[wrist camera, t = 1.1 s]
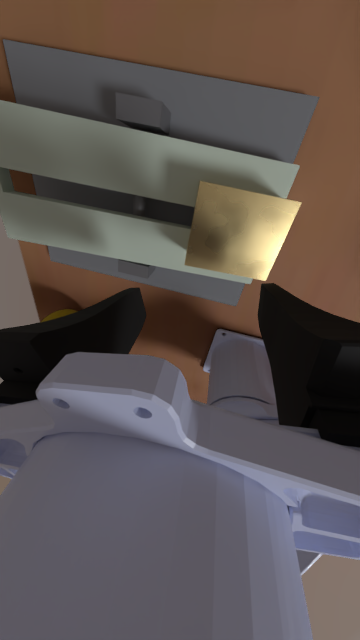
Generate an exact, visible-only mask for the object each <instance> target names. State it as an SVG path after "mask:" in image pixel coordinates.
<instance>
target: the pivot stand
mask: <svg viewBox="0 0 360 640" xmlns="http://www.w3.org/2000/svg"><path fill="white" fill-rule="evenodd" d="M3 43H4V48H5V52H6V57H7V62H8V66H9V71H10V75H11V80H12V85H13V89H14V94H15V98H16V103H17V104H21V105H25V106H30V107H34V108H39V109H44V110H48V111H53V112H57V113H62V114H66V115H71V116H76V117H80V118H85V119H89V120H94V121H98V122H103V123H107V124H112V125H117V126H121V127H126V128H130V129H135V130H139V131H144V132H149V133H153V134H158V135H162V136H167V137H171V138H176V139H180V140H185V141H190V142H194V143H199V144H203V145H208V146H212V147H217V148H221V149H226V150H231V151H235V152H240V153H244V154H249V155H253V156H258V157H263V158H267V159H272V160H276V161H281V162H285V163H290V164H293V162H294V160H295V157H296V155H297V152H298V150H299V147H300V145H301V142H302V140H303V137H304V135H305V132H306V130H307V127H308V125H309V122H310V120H311V117H312V115H313V112H314V110H315V107H316V105H317V102H318V100H319V97H316V96H310V95H305V94H299V93H294V92H288V91H283V90H277V89H272V88H267V87H261V86H256V85H250V84H245V83H239V82H234V81H228V80H223V79H217V78H212V77H206V76H201V75H196V74H190V73H185V72H179V71H174V70H168V69H163V68H157V67H152V66H146V65H141V64H136V63H130V62H125V61H119V60H114V59H108V58H103V57H97V56H92V55H86V54H81V53H75V52H70V51H65V50H59V49H54V48H48V47H43V46H37V45H32V44H26V43H21V42H15V41H10V40H4V39H3ZM32 176H33V181H34V186H35V190H36V195H37V196H42V197H47V198H52V199H57V200H62V201H67V202H72V203H77V204H82V205H87V206H92V207H97V208H102V209H107V210H112V211H117V212H122V213H127V214H132V215H133V199H134V195H133V194H128V193H124V192H119V191H114V190H109V189H104V188H99V187H94V186H90V185H85V184H80V183H75V182H70V181H65V180H60V179H55V178H51V177H46V176H41V175H36V174H32ZM194 208H195V207H192V206H187V205H182V204H177V203H172V202H167V201H162V200H158V199H153V198H148V197H146V204H145V217H146V218H151V219H156V220H161V221H166V222H171V223H176V224H181V225H186V226H191V224H192V219H193V213H194ZM48 250H49V254H50V259H51V261H54V262H58V263H62V264H66V265H70V266H74V267H79V268H83V269H87V270H91V271H95V272H99V273H103V274H107V275H111V276H115V277H119V278H123V279H127V280H131V281H135V282H139V283H143V284H147V285H151V286H156V287H160V288H164V289H168V290H172V291H176V292H180V293H184V294H188V295H192V296H196V297H200V298H204V299H208V300H212V301H216V302H220V303H224V304H229V305H233V306H236V305H237V303H238V300H239V298H240V295H241V293H242V290H243V288H244V285H245V283H241V282H236V281H231V280H225V279H220V278H215V277H210V276H205V275H199V274H194V273H189V272H184V271H179V270H173V269H168V268H163V267H158V266H152V265H147V264H142V263H137V262H132V261H126V260H121V259H116V258H111V257H106V256H100V255H95V254H90V253H85V252H79V251H74V250H69V249H64V248H59V247H53V246H48Z"/></svg>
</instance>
